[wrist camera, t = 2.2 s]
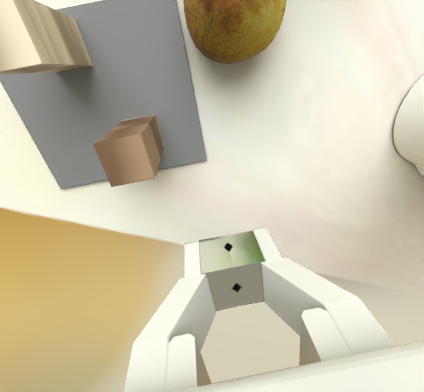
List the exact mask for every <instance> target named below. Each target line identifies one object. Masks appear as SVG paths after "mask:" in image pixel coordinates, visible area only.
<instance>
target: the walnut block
mask: <svg viewBox="0 0 424 392" xmlns="http://www.w3.org/2000/svg"><path fill="white" fill-rule="evenodd" d="M93 146H94V148H95V150H96V153H97V155H98V157H99V159H100V162H101V164H102V166H103V169H104V171H105V173H106V176H107V178H108V180H109V182H110V185H111V187H114V186H119V185H124V184H129V183H134V182H139V181H144V180H149V179H154V178H155V176H156V173H157V169H158V166H159V163H160V159H161V156H162V152H163V149H164V143H163V140H162V136H161V133H160V129H159V126H158V122H157V118H156V115H155V114H153V115H148V116H143V117H138V118H133V119H128V120H123V121H121V122H120V123H119V124H118V125H116V126H115V127H114V128H113V129H111V130H110V131H109V132H107V133H106V134H105V135H104V136H102V137H101V138H100V139H99V140H97V141H96V142H95V143H94V144H93Z"/></svg>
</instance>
